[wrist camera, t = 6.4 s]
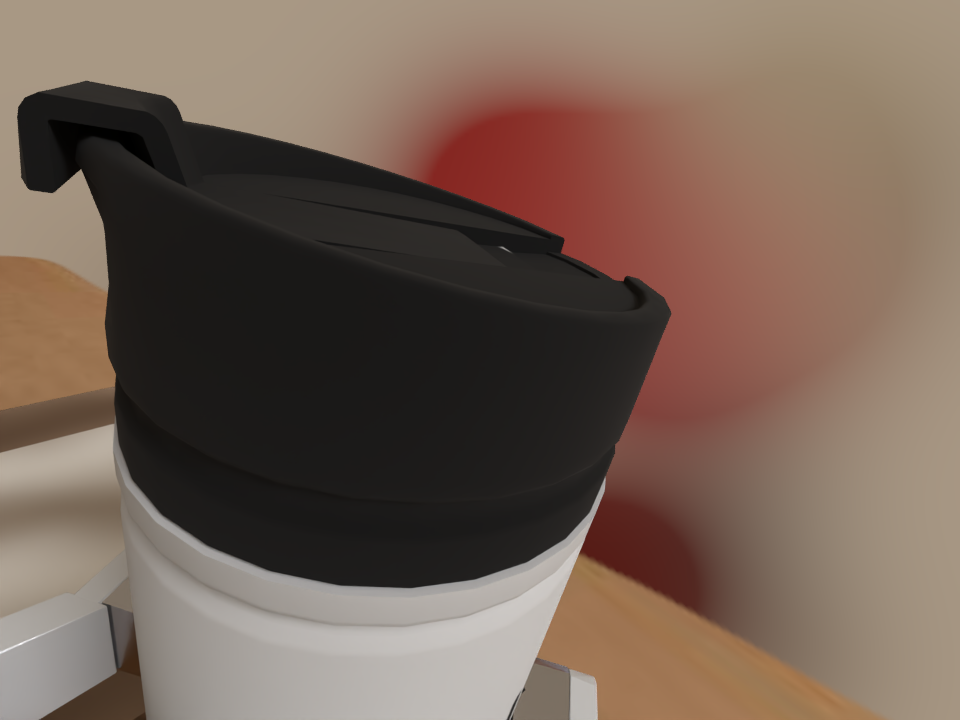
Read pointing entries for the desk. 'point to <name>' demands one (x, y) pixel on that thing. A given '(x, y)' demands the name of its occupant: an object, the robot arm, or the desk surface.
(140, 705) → the walnut riser
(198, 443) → the travel mug
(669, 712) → the desk surface
